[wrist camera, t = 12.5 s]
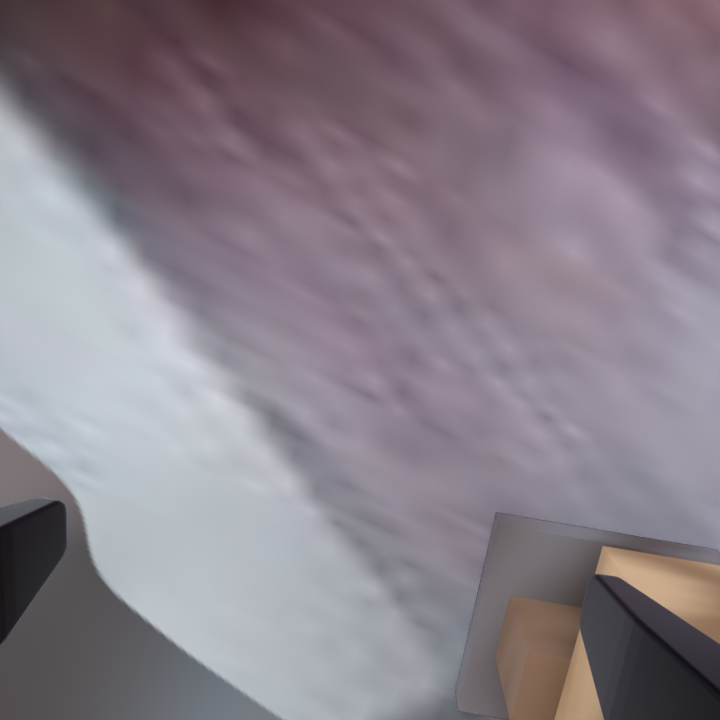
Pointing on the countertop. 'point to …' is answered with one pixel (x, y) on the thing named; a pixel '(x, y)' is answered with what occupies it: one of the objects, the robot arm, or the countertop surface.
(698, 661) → the robot arm
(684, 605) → the oak bar
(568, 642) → the balance stand
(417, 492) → the countertop surface
